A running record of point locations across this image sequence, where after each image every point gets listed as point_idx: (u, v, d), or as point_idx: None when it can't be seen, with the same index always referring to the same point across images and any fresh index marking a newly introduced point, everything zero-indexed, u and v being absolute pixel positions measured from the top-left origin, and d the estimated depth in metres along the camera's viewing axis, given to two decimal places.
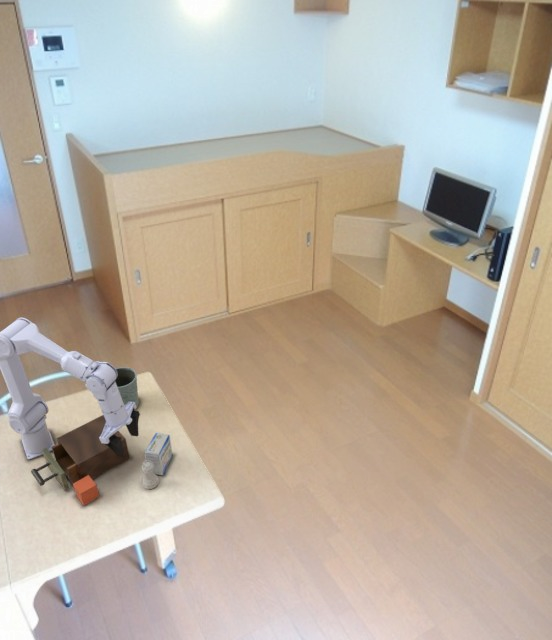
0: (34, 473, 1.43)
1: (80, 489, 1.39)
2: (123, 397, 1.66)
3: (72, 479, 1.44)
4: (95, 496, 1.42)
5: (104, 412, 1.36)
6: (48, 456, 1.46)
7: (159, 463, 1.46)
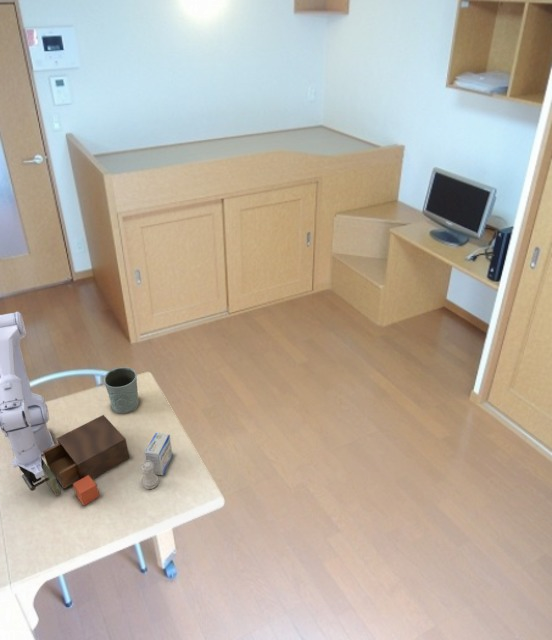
0: (25, 478, 1.42)
1: (80, 489, 1.39)
2: (123, 397, 1.66)
3: (63, 484, 1.43)
4: (95, 496, 1.42)
5: None
6: None
7: (159, 463, 1.46)
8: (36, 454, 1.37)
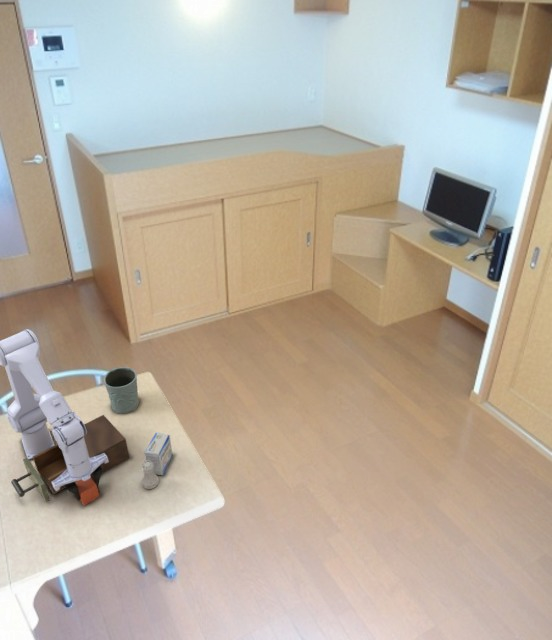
0: (14, 484, 1.40)
1: (81, 489, 1.39)
2: (123, 397, 1.66)
3: (53, 490, 1.41)
4: (95, 496, 1.42)
5: (65, 460, 1.34)
6: (29, 466, 1.42)
7: (159, 463, 1.46)
8: None
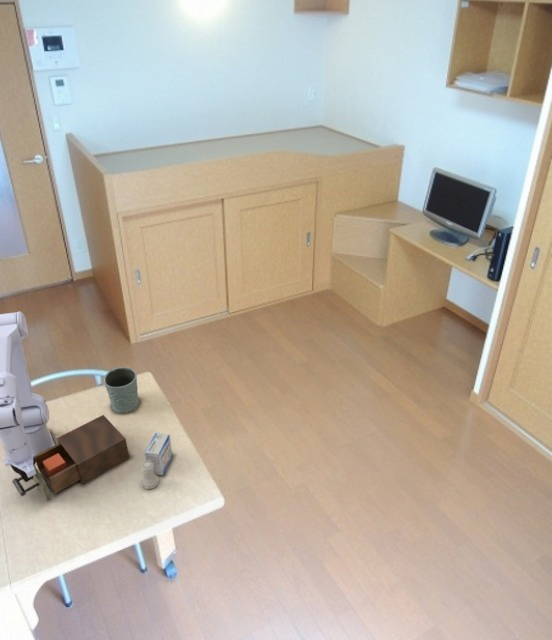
0: (15, 483, 1.40)
1: (47, 460, 1.45)
2: (123, 397, 1.66)
3: (54, 489, 1.41)
4: None
5: None
6: None
7: (159, 463, 1.46)
8: (28, 452, 1.35)
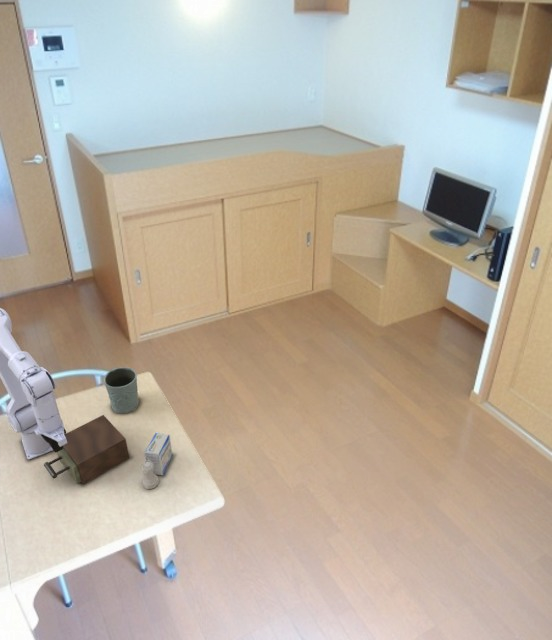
0: (47, 466, 1.45)
1: None
2: (123, 397, 1.66)
3: None
4: None
5: None
6: (60, 450, 1.48)
7: (159, 463, 1.46)
8: (59, 422, 1.38)
